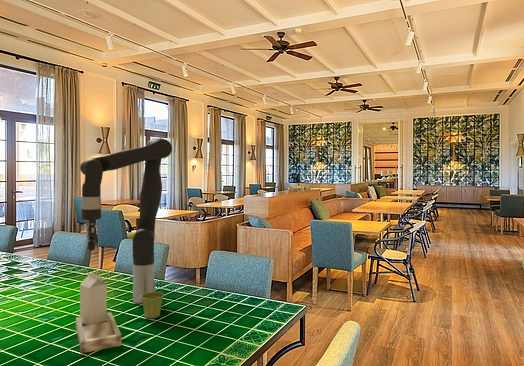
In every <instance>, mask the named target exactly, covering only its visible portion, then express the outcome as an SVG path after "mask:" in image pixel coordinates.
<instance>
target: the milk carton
mask: <svg viewBox="0 0 524 366" xmlns="http://www.w3.org/2000/svg"><path fill="white" fill-rule="evenodd" d="M107 291H108V290H107V283H106V282H104V281H103V280H102V277H101V276H99V274H95V273H92V272H88V274H87V276H86V277H85V278H84V280H83V281H82V282H81V283H80V284H79V317H80V318H81V322H82V325H84V326H88V325H94V324H100V323H106V322H107V300H108V299H107V297H108V296H107V295H108V293H107Z"/></svg>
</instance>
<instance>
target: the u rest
mask: <svg viewBox="0 0 524 366" xmlns="http://www.w3.org/2000/svg"><path fill="white" fill-rule="evenodd" d="M75 328H76V329H75V330H76V334H77V340H78V344H79V350H80V354H85V353H90V352H95V351H99V350H103V349H104V350H105V349H111V348H115V347H120V346H122V336H123V335H122V333H121V331H120V329H119V327H118V325H117V322H116V320H115V318H114V315H113V314H112V311H109V312H106V321H105V322H102V323H99V324H94V325H88V326H87V325H83V323H82V322H81V318H80V316H78V317H75Z"/></svg>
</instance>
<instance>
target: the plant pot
mask: <svg viewBox="0 0 524 366" xmlns="http://www.w3.org/2000/svg"><path fill="white" fill-rule="evenodd" d="M164 296H165V293H163V292H160V291H155V292H148V293H144V294H142V295H141V296H140V297H141V299H142V302H143V303H142V307H143V315H144V318H146V319H147V318H148V319H157V318H158V317H160V316H161V309H162V303H163V298H164Z"/></svg>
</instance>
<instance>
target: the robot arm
mask: <svg viewBox="0 0 524 366" xmlns="http://www.w3.org/2000/svg"><path fill="white" fill-rule="evenodd" d="M172 152H173V145H172V143H171V142H170V141H169V140H168V139H165V138H158V137H157V138H156V137H155V138H151V139H150V140H149V141H148V142H147V144H146V145H145V146H140V147H136V148H130V149H123V150H120V151H119V150H118V151H115V152H111V153H109V154H105V155H103V156H102V155H101V156H97V157H92V158H89V159H84V160H83V161H82V162H81V164H80V165H79V170H80V172H81V173H82V174H83V175H84V183H83V184H82V185H81V202H80V203H81V204H80V205H81V208H80V213H81V214H80V219H81V220H83V221H87V223H85V228H86V231H85V233H86V239H87V249H88V251H95V250H96V249H95V245H96V244H95V243H96V239H97V238H96V236H97V228H98V224H97V223H96V220H101V219H102V196H101V195H102V194H101V187H102V186H101V184H102V180H103V176H104V175H103V173H104V172H107V171H109V172H111V171H115V170H119V169H122V168H125V167H128V166H131V165H136V164H139V163H141V162H142V163H143V162H144V163H145V165H144V171H143V176H142V177H143V179H142V183H141V190H140V196H139V219H138V224H137V227H136V230H135V233H134V235H133V236H132V302H133V303H134V304H143V302H142V299H141V297H140V296H141V295H142V294H144V293H148V292H156V280H155V238H156V235H155V233H156V231H155V229H156V228H155V227H156V219H157V215H158V211H159V208H160V204H161V200H162V193H163V182H162V176H161V164H162V163H161V162H162V159H166V158H168V157H169V156H170V155H171V154H172Z"/></svg>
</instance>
